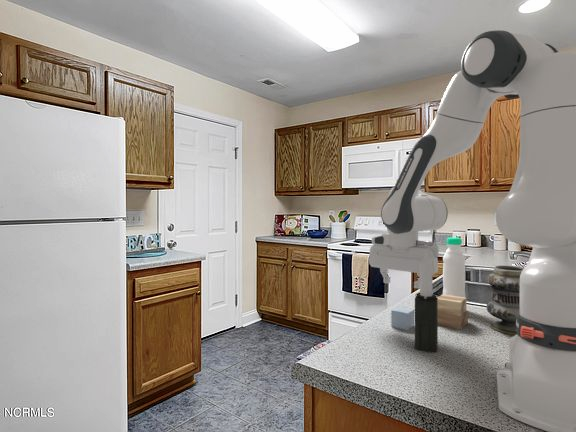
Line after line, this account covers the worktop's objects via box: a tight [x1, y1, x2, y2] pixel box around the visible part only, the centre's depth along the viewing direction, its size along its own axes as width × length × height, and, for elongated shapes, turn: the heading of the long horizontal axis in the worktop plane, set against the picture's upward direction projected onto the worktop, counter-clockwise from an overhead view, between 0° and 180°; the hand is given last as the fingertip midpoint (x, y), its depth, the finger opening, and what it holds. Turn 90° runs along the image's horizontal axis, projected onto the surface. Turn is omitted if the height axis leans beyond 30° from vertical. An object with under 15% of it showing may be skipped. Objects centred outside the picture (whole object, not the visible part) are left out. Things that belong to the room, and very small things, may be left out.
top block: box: [436, 293, 468, 316], centre depth 106 cm, size 7×7×4 cm
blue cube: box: [390, 306, 415, 331], centre depth 104 cm, size 5×5×5 cm
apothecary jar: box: [485, 264, 525, 336], centre depth 100 cm, size 12×12×18 cm
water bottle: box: [442, 236, 466, 298], centre depth 120 cm, size 7×7×25 cm
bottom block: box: [438, 309, 469, 330], centre depth 107 cm, size 8×8×4 cm
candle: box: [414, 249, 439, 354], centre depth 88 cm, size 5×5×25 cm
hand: (401, 285), depth 104 cm, fingers open, 8 cm apart
